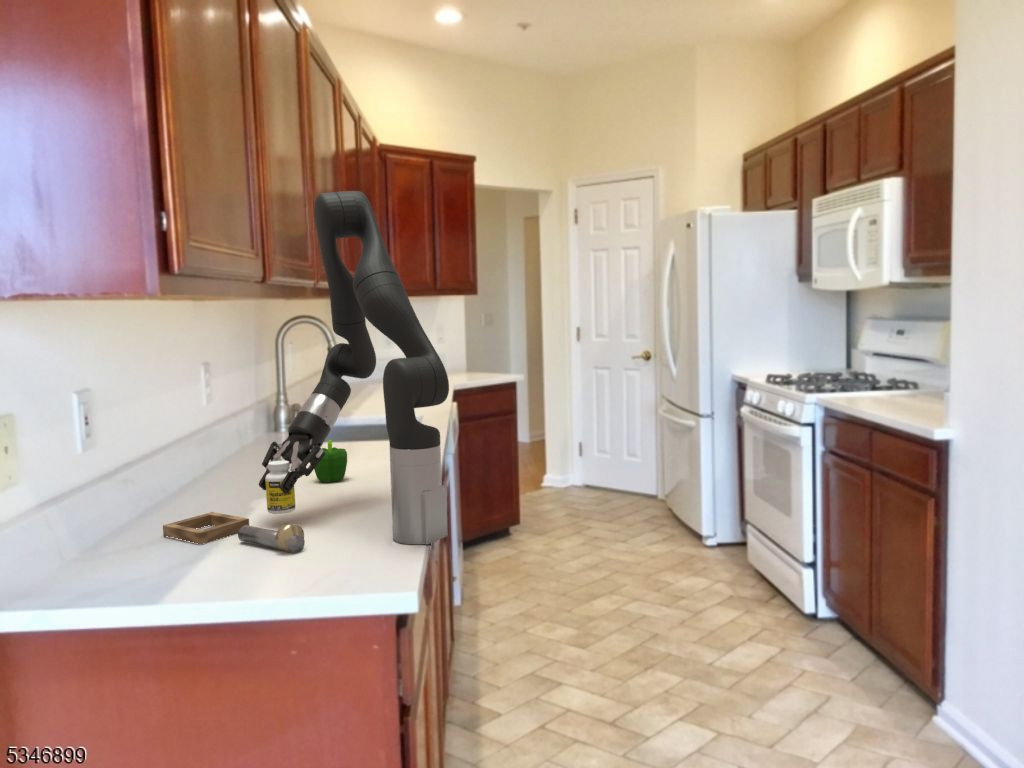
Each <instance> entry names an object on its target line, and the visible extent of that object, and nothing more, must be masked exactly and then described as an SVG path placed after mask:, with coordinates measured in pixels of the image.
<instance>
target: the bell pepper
mask: <svg viewBox="0 0 1024 768" xmlns="http://www.w3.org/2000/svg"><path fill="white" fill-rule="evenodd" d="M321 449H322V450H323V451H324V452H325V455H324V457H323V458H322V459H321V461H320V462H319V463H318V465H317V466H316V467H315V468H314V470H313V471H314V473H315V477H316V478H317V480H318V481H319V482H321V483H331V482H333V483H334V482H335V483H336V482H340V481H343V480H344V478H345V476H346V470H347V467H348V452H347V449H346V448H338V447H334V446H333V441H332V439H328V440H327V448H325V447H322V448H321Z"/></svg>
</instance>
